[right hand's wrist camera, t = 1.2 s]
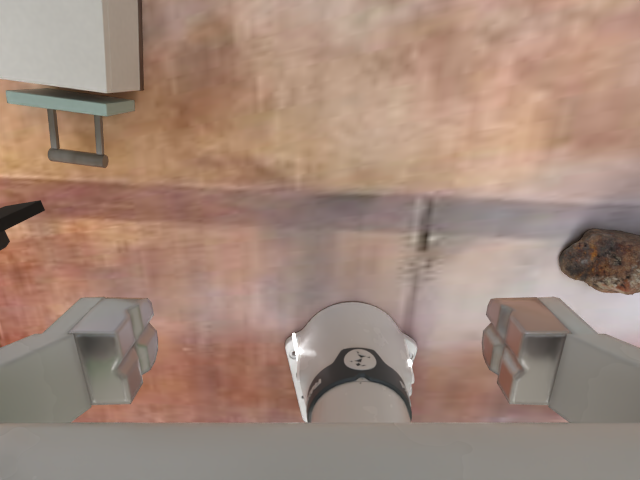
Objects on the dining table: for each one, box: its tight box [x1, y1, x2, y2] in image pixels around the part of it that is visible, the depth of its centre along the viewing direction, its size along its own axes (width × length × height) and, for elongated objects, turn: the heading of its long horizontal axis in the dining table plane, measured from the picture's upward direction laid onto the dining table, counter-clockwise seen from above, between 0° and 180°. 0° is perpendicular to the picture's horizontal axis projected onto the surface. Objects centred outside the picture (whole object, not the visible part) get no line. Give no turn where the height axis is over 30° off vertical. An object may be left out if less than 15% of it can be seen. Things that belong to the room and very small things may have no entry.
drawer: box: [6, 88, 135, 168], centre depth 42 cm, size 23×10×7 cm, turn 172°
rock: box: [560, 229, 640, 295], centre depth 51 cm, size 14×9×10 cm
